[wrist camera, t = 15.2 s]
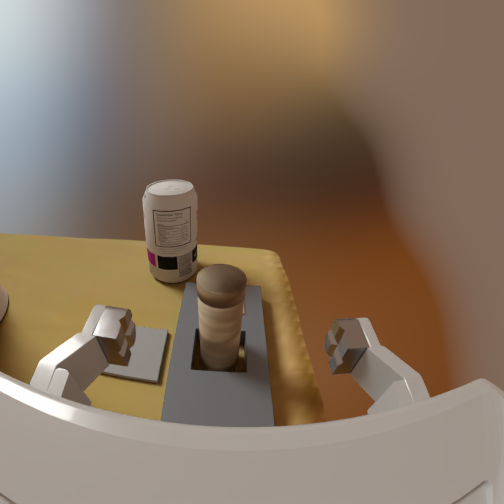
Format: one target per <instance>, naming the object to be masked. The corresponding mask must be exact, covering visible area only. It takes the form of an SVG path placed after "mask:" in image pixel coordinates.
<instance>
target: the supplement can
mask: <svg viewBox="0 0 504 504" xmlns="http://www.w3.org/2000/svg"><path fill="white" fill-rule="evenodd" d="M143 212H144V223H145V234H146V243H147V251H148V259H149V266H150V272H151V273H152V275H153V276H154V277H155V278H157V279H158V280H160V281H163V282H166V283H178V282H183V281H185V280H187V279H189V278H190V277H191V276H192V275H193V274H194V273H195V272H196V270H197V195H196V192H195V190H194V189H193V185H192V184H191V183H190V182H187V181H183V180H162V181H157V182H154V183H152V184H150V185H148V186H147V187H146V192H145V194H144V196H143Z"/></svg>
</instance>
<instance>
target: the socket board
mask: <svg viewBox="0 0 504 504" xmlns="http://www.w3.org/2000/svg"><path fill="white" fill-rule="evenodd" d="M197 340H200V332H199V315H198V295H197V283H192V282H186V286H185V290H184V295H183V299H182V304H181V309H180V313H179V318H178V323H177V328H176V333H175V338H174V343H173V349H172V354H171V360H170V365H169V371H168V377H167V383H166V389H165V396H164V402H163V409H162V416H161V421H164V422H172V423H181V424H191V425H203V426H220V427H273V426H275V425H274V415H273V405H272V396H271V386H270V376H269V366H268V356H267V347H266V337H265V328H264V318H263V309H262V299H261V290H260V286H246V292H245V297H244V305H243V315H242V324H241V334H240V343H244V351H245V373H243V372H217V371H201V370H193V367H194V358H195V349H196V341H197Z"/></svg>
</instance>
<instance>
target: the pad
mask: <svg viewBox="0 0 504 504" xmlns="http://www.w3.org/2000/svg"><path fill="white" fill-rule="evenodd" d="M135 327H136V340H135V343H134V346H132V347H131V348H130V351H131V357H130V361H129V364H128V367H126V366H120V365H113V364H109V366H108V367H107V368H106V369H105V370H104V371H103V372H102V373H103V374H107V375H112V376H117V377H122V378H128V379H134V380H140V381H146V382H153V383H158V381H159V375H160V370H161V365H162V360H163V355H164V350H165V345H166V341H167V336H168V330H165V329H155V328H146V327H138V326H135Z"/></svg>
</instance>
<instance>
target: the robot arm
mask: <svg viewBox="0 0 504 504" xmlns="http://www.w3.org/2000/svg"><path fill="white" fill-rule="evenodd" d="M7 306H8V295H7V292H6V291H5V290H4V289H3V288H2V286H1V285H0V321H1V319H2V318H3V316H4V314H5V312H6V309H7ZM131 318H132V313H131V310H129V309H124V308H118V307H111V306H104V305H98V304H97V305H95V306H94V308H93V310H92V312H91V314H90V316H89V318H88V320H87V322H86V324H85V326H84V328H83V331H82V333H77V334H76V335H74V336H73V337H72V338H70V339H69V340H67V341H66V342H65V343H63V344H62V345H60V346H59V347H58V348H56V349H55V350H54V351H52V352H51V353H49V354H48V355H47V356H45V357H44V358H43V359H41V360H40V361H39V364H38V366H37V368H36V370H35V373H34V375H33V377H32V380H31V382H30V385H28V384H26V383H24V382H21V381H19V380H17V379H15V378H13V377H10V376H8V375H6V374H4V373H2V372H0V504H504V392H503V391H502V390H501V389H499V388H498V387H497V386H495V385H494V384H493V383H491V382H489V381H488V380H486V379H482V378H481V379H478V380H475V381H473V382H471V383H469V384H466V385H464V386H461V387H459V388H456V389H454V390H451V391H449V392H446V393H443V394H440V395H438V396H435V397H432V398H430V396H429V394H428V391H427V389H426V387H425V384H424V382H423V380H422V377H421V375H420V374H418V373H417V372H416V371H415V370H413V369H412V368H411V367H410V366H408V365H407V364H406V363H404V362H403V361H402V360H401V359H399V358H398V357H397V356H396V355H394V354H393V353H392V352H391V351H389V350H388V349H387V348H385V347H384V346H381V345H380V344H379V341H378V339H377V336H376V334H375V332H374V330H373V328H372V326H371V323H370V321H369V319H367V318H356V319H355V318H350V319H334V320H333V321H332V323H331V328H332V329H331V330H330V331H329V332H327V335H326V338H325V350H326V353H327V354H328V355H329V356H330V357H331V359H330V361H329V364H330V368H331V372H332V375H334V374H348V373H350V375H351V376H352V377H353V378H354V379H355V380H356V381H357V382H358V383H359V384H360V386H361V387H362V388H363V389H364V390H365V391H366V392H367V393H368V394H369V395H370V396H371V397H372V399H373V400H374V401H375V403H374V404H373V405H372V406H371V407H370V408H369V409H368V411H367V412H368V415H364V416H359V417H354V418H348V419H342V420H336V421H329V422H321V423H312V424H302V425H290V426H273V427H220V426H203V425H191V424H181V423H172V422H164V421H158V420H151V419H145V418H139V417H134V416H129V415H124V414H120V413H115V412H111V411H107V410H103V409H99V408H95V407H91V401H90V399H89V398H88V397H87V396H86V394H85V393H84V392H83V391H84V390H85V389H86V388H87V387H88V386H89V385H90V384H91V383H92V382H93V381H94V380H95V379H96V378H97V377H98V376H99V375H100V374H101V373H102V372H103V371H104V370H105V369H106V368H107V367H108V366H109V364H113V365H120V366H126V367H128V364H129V361H130V357H131V351H130V348H131V347H132V346H134V343H135V340H136V327H135V323H134V322H133V321H131Z"/></svg>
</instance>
